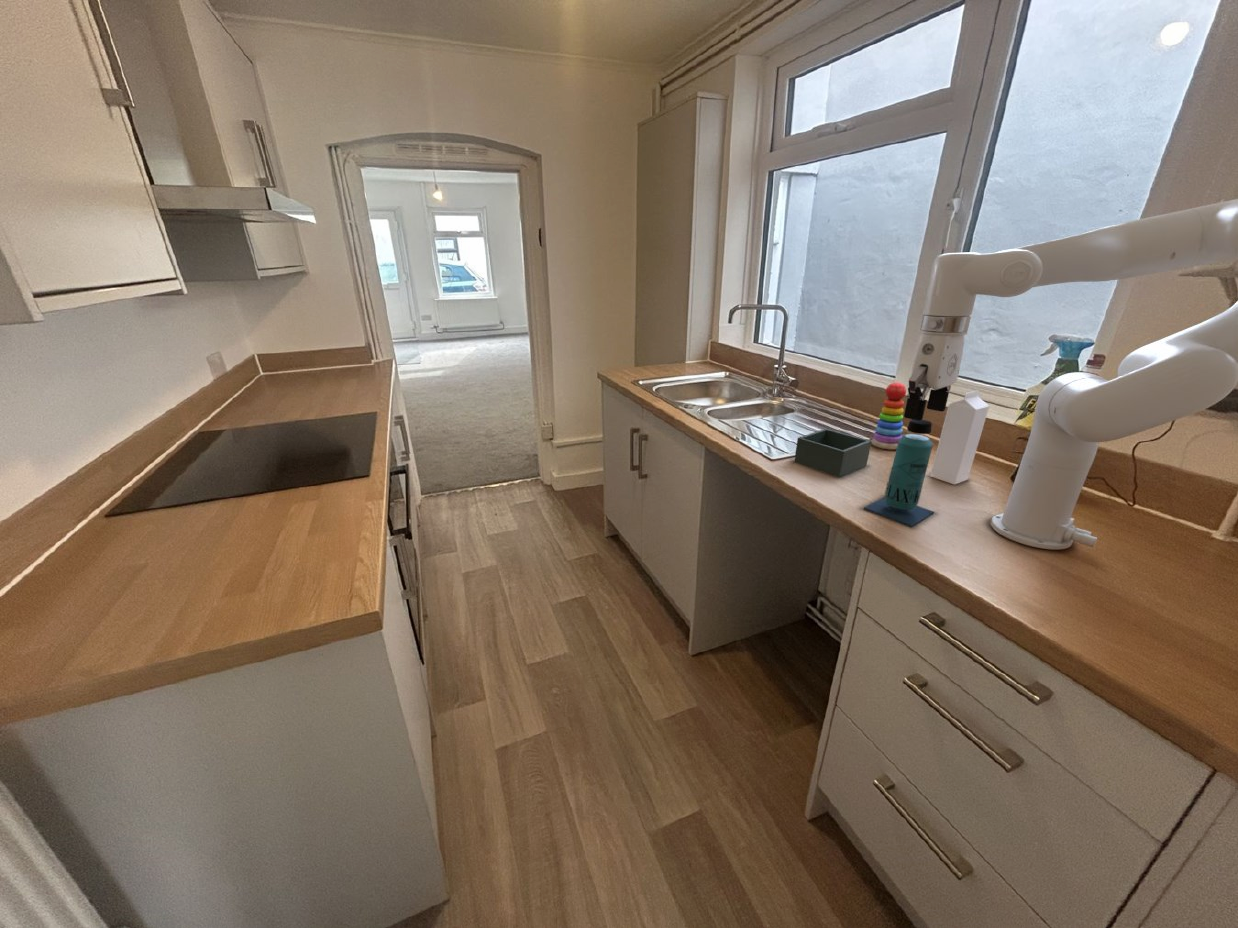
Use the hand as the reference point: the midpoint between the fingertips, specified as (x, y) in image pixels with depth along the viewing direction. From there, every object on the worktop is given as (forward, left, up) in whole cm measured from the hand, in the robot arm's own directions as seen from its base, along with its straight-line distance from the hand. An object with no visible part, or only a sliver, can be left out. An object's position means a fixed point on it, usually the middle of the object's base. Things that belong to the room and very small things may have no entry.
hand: (924, 414), depth 95 cm
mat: (0, 0, -22) cm, 22 cm away
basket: (+24, -13, -22) cm, 35 cm away
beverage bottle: (0, 0, -22) cm, 22 cm away
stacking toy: (+22, -39, -22) cm, 50 cm away
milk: (+1, -28, -22) cm, 35 cm away
